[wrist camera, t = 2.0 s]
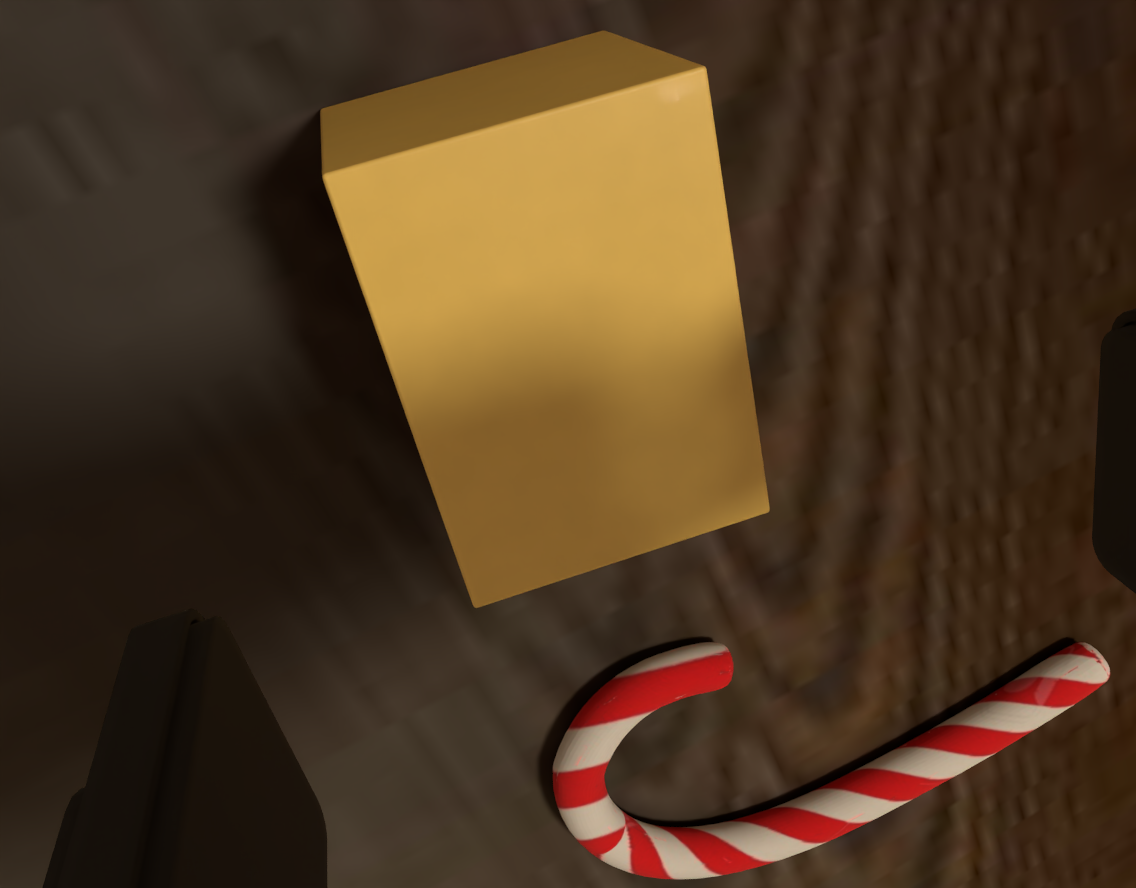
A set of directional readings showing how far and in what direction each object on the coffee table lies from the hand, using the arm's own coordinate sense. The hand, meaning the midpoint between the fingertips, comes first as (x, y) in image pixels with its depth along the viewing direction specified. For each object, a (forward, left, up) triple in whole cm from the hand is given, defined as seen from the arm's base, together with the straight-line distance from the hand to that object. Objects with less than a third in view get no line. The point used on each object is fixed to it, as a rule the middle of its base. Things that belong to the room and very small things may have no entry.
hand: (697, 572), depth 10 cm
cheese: (0, 0, -10) cm, 10 cm away
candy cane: (+14, +5, -10) cm, 17 cm away
